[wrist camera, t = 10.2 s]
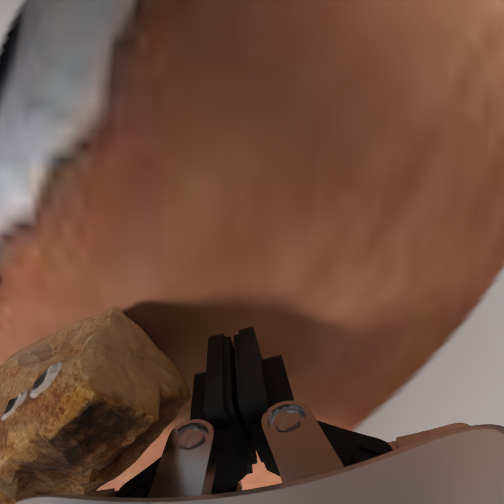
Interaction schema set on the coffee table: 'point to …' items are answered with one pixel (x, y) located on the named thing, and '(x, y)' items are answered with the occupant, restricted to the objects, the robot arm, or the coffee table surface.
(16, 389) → the decorative rock
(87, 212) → the coffee table surface
